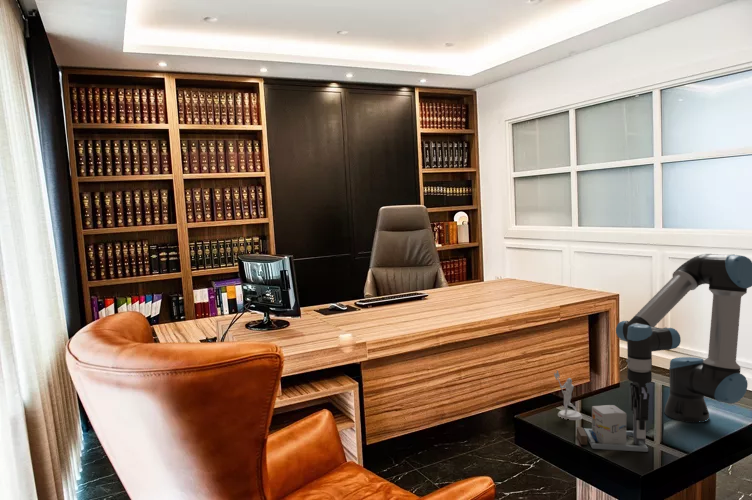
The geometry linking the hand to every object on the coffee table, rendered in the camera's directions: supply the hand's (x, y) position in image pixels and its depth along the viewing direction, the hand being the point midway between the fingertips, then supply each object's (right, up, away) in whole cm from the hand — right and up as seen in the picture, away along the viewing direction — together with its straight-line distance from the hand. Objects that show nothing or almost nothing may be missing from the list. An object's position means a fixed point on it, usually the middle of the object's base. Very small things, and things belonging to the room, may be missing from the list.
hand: (639, 435), depth 179 cm
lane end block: (-19, -3, +4) cm, 19 cm away
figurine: (-14, -2, +27) cm, 31 cm away
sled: (-8, -3, +2) cm, 8 cm away
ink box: (-10, -3, +2) cm, 10 cm away
